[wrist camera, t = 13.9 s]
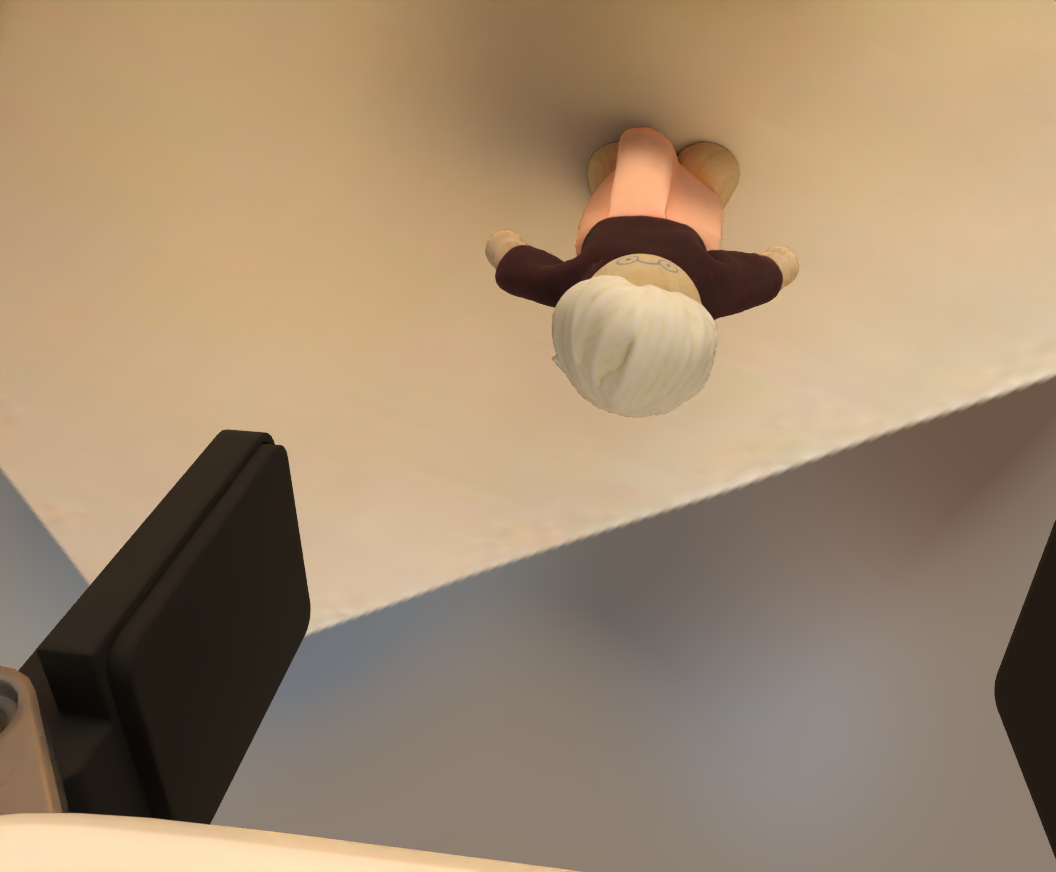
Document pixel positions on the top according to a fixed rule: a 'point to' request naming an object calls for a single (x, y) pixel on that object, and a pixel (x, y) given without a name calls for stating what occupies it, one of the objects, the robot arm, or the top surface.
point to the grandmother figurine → (644, 274)
